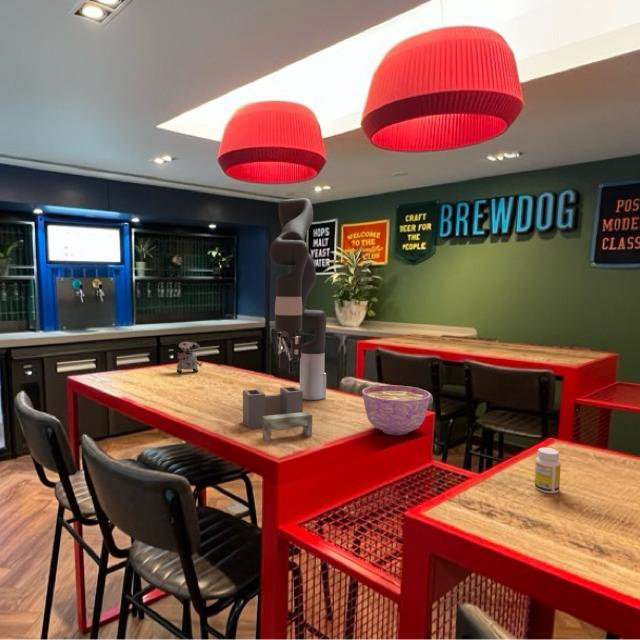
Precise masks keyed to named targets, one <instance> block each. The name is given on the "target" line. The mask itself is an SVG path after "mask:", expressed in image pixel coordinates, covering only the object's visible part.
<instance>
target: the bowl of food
mask: <svg viewBox="0 0 640 640" xmlns="http://www.w3.org/2000/svg"><path fill="white" fill-rule="evenodd" d="M361 393H362V399H363V403H364V408H365V413H366V416H367V420H368V421H369V424H371V425H372V426H373V427H375V428H376V429H377V430H380V431H381V430H382V431H383V432H382V431H381V432H382V433H384V434H387V435H392V436H403V435H407V434H409V433H410V432H412V431H415V430H417V429H419V428H420V426H421V425H422V424H423V422H424V420H425V418H426V415H427V411H428V408H429V405H430V404H429V403H430V400H431V395H432V394H431V393H430V392H429V391H427V390H425V389H422V388H419V387H414V386H408V385H407V386H405V385H397V384H395V385H393V384H385V385H380V384H378V385H372V386H368V387H365V388H363V389H362V391H361Z"/></svg>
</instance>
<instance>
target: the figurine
mask: <svg viewBox="0 0 640 640" xmlns="http://www.w3.org/2000/svg"><path fill="white" fill-rule="evenodd" d="M178 347H179V348H180V349H181V350H180V351H178V352H177V360H179V361H178V362H177V363H176V364H177V365H176V366H177V367H176V373H177V372H178V373H177V374H179V373H182V374H183V370H193V371H195V372H198V373H199V370H198V366H199V367H202V366H203V362H201V363H200V361H198V359H197V356H198V355H197V354H196V353H195V352H194V351H196V350H200V347H201V346H200V345H199V343H198V342H189V341H184V342H180V343H179V344H178ZM182 351H183V352H182ZM180 352H181V353H180ZM193 371H192V372H193ZM195 372H194V373H195Z"/></svg>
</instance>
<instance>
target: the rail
mask: <svg viewBox="0 0 640 640" xmlns="http://www.w3.org/2000/svg"><path fill="white" fill-rule="evenodd" d="M299 427H300V428H301V427H302V433H303V434H304V435H305V434H306V437H312V436H313V414H312V413H311V412H310V411H304V412H301V413H291V414H280V415H270V416H262V427H261V428H262V438H263V439H264V440H265V441H266V442H272V431H273V430H281V429H282V430H283V429H291V428H293V429H294V428H299Z"/></svg>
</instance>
